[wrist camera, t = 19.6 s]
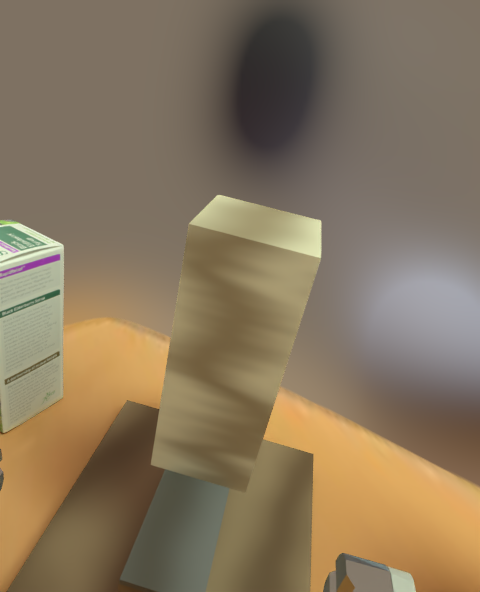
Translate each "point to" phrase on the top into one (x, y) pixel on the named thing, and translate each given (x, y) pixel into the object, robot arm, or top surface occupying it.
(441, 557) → the top surface
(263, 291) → the ash post
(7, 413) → the syrup box
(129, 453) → the ridge
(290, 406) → the top surface
